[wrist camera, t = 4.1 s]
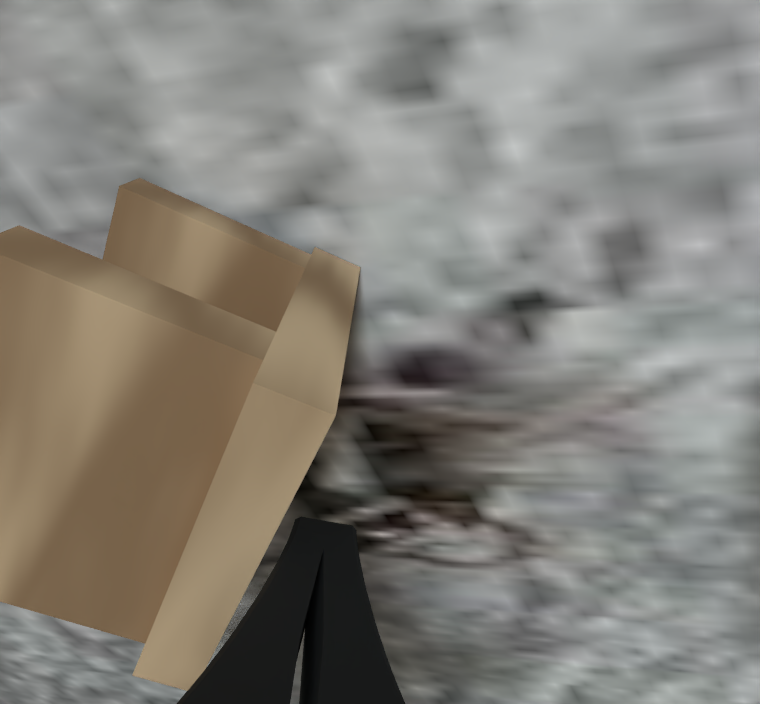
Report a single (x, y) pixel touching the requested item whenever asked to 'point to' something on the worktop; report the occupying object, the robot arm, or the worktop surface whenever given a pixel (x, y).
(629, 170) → the worktop surface
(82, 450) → the tan notched block
